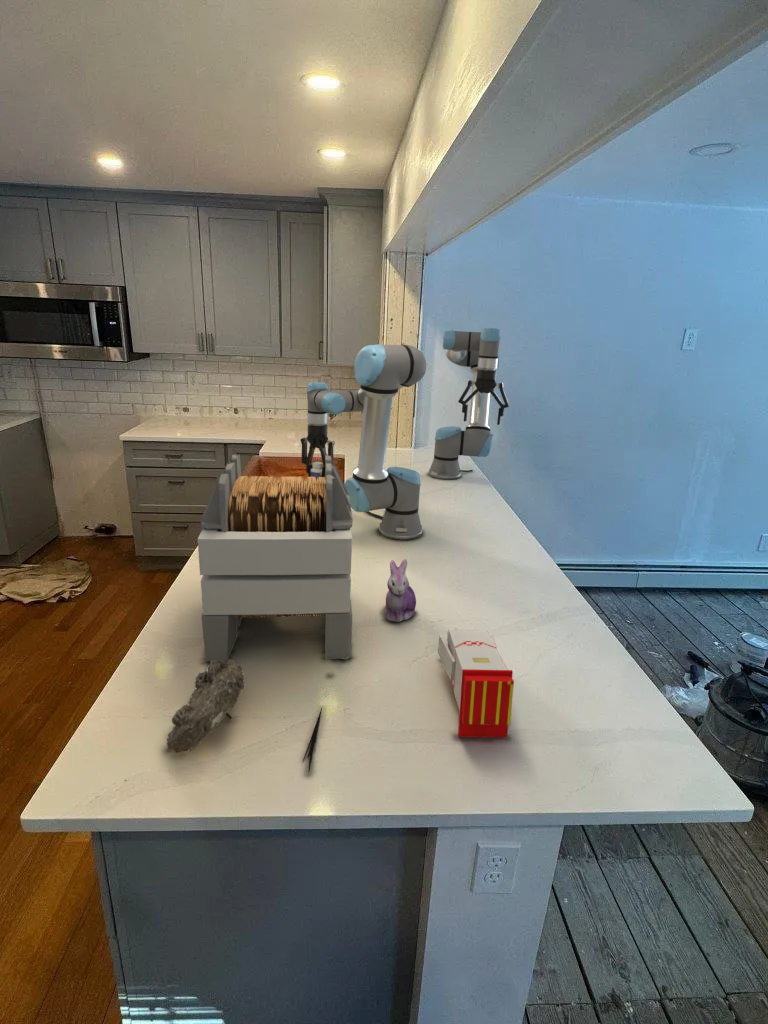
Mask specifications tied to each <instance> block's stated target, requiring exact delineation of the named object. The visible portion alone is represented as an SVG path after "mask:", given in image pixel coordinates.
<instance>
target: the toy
mask: <svg viewBox="0 0 768 1024" xmlns="http://www.w3.org/2000/svg"><path fill="white" fill-rule="evenodd" d="M446 640H447V643H446V641H445V639H444V636H443V635H442V634H439V637H438V646H437V656H438V657H439V659H440V661H441V663H442V666H443V668H444V670H445V672H446V674H447V677H448V679H449V681H450V684H451V687H452V690H453V693H454V697H455V701H456V705H457V708H458V711H459V714H458V715H459V716H458V730H457V731H458V732H457V737H458V738H508V731H509V726H510V725H511V717H512V707H513V697H514V696H513V695H514V684H515V680H514V679H513V673H514V671H513V670H512V669H508V667H507V665H506V662H505V661H504V659H503V658H502V655H501V653H500V651H499V649H498V647H497V643H496V639H495V637H494V635H493V634H491V632H490V631H489V629H467V628H466V629H465V628H463V629H461V628H460V629H459V628H448V630H447V639H446Z"/></svg>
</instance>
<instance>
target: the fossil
mask: <svg viewBox="0 0 768 1024" xmlns="http://www.w3.org/2000/svg"><path fill="white" fill-rule="evenodd" d="M243 670H244V669H243V667H242V665H240V664H237V662H236V661H235V660H234V659H232V658H231V659H229V658H228V659H227V660H224V661H217V660H212V661H211V662H209V665H208V666H207V671H201V672H199V673H198V674H197V675H196V676H195V680H194V684H195V685H194V687H195V689H194V690H193V693H192V694H191V697H190V698H189V700H188V704H184V705H182V706H181V707H180V709H177V710H176V711H175V713H174V715H173V716H172V718H171V723H172V724H173V727H172V730H171V731H170V732H168V734H167V738H166V741H167V742H166V745H167V749H168V750H169V751H173V752H174V753H176V754H178V753H182V752H188V751H189V752H192V751H193V750H195V748H196V747H197V746H199V744H200V743H201V742H203V741H204V740H205V739H206V738H207V737H208V736H209V735H210V734H211V733H212V732H214V730H215V729H217V727H218V726H219V724H220V722H221V721H222V720H223V719H224V718H225V716H226V717H227V719H229V720H233V717H232V715H230V714H229V710H230V709H231V708H234V706H235V704H236V703H237V702H238V699H239V697H240V695H241V693H242V691H243V690H245V689H244V688H245V675H244V671H243Z"/></svg>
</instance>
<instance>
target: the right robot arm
mask: <svg viewBox="0 0 768 1024" xmlns="http://www.w3.org/2000/svg"><path fill="white" fill-rule="evenodd" d="M501 332H502V331H501V329H500V328H498V327H497V328H495V327H483V328H481V331H465V330H464V331H462V330H453V329H452V330H444V332H443V335H442V336H443V337H442V349H443V350H445V356H446V358H447V359H448V361H450V362H451V363H453V364H455V365H457V366H460V367H464V368H470V372H471V373H472V379H469V380H468V381H467V386H466V387H465V389H464V391H463V392H462V394H461V395H460V397H459V399H458V401H457V403H459V404H461V405H462V407H461V413H462V414H463V422H467V420H468V412H469V423H468V424H467V425H466V426H465V430H462V428H461V427H460V426H455V425H454V426H453V425H452V426H451V425H449V426H443V427H440V428H437V430H436V432H435V438H434V441H435V442H434V450H433V451H434V452H433V460H432V462H431V465H430V468H429V470H428V475H429V476H430V477H432V478H434V479H439V480H457V479H460V478H461V475H462V472H463V473H470V472H474V470H473V469H469V470H466V469H465V470H464V469H461V467H460V462H459V456H463V457H477V458H486V457H488V456H489V455H490V452H491V447H492V443H493V439H494V433H493V432H492V431H491V427H490V426H489V413H490V400H491V395H492V397H493V398H494V400H495V401H496V403H497V404H498V405H499V408H498V413H497V420H496V421H497V423H496V425H497V426H499V425H500V424H501V417H504V415H505V409H507V408H509V407H510V402H509V400H508V397H507V395H506V392H505V389H504V382H497V381H496V380H497V369H499V367H500V345H501V344H500V343H501ZM496 387H497V389H499V392H500V394H501V395H500V396H501V398H502V399H501V398H500V396H499V395H498V394H497V392H496V391H495V388H496ZM470 390H471V393H470V395H469V396H468V397H467V398H466V399H465V397H466V396H467V394H468V392H469V391H470ZM464 399H465V400H464ZM469 401H470V409H469V404H467V403H468V402H469ZM468 409H469V411H468Z"/></svg>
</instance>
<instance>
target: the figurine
mask: <svg viewBox="0 0 768 1024" xmlns="http://www.w3.org/2000/svg"><path fill="white" fill-rule="evenodd" d="M407 567H408V559H406V558H404V559H403V560H402V561H401V563H400V565H399V566H398V565H397V563H396V562H395V561H394V560H393V559H391V560H390V561H389V570H390V576H389V578H388V579H387V589H388V591H387V592H386V594H385V595H386V596H385V607H384V615H385V616H386V620H387V621H391V622H395V623H400V622H402V621H406V620H409V619H410V618H411V617H413V616H414V615H415V610H416V606H417V597H416V593H415V591H414V590H413V587H411V586H410V582H409V579H408V577H407V574H406V571H407Z"/></svg>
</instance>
